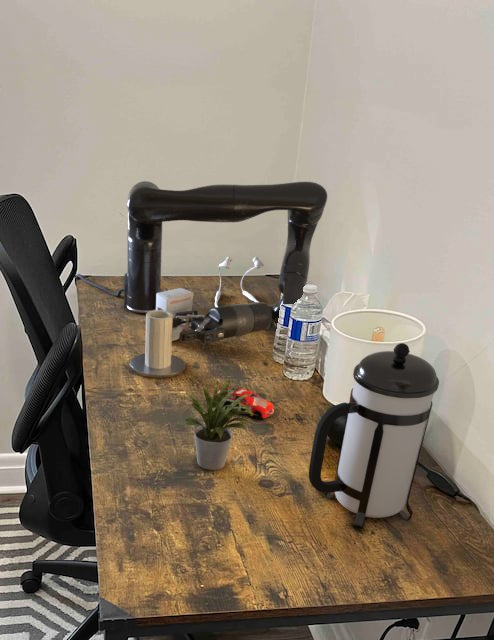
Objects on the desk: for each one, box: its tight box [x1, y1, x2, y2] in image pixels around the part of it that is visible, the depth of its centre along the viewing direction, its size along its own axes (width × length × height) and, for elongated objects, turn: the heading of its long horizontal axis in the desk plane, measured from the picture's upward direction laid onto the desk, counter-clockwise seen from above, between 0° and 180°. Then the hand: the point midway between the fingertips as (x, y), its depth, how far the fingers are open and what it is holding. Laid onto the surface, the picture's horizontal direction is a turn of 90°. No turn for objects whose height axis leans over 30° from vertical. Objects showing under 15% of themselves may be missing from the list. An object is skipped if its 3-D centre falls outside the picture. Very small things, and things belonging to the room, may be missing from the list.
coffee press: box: [308, 342, 440, 530], centre depth 118 cm, size 17×16×30 cm
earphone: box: [214, 256, 265, 307], centre depth 210 cm, size 14×17×18 cm
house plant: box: [176, 378, 256, 471], centre depth 132 cm, size 14×14×16 cm
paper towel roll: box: [144, 310, 173, 369], centre depth 170 cm, size 6×6×12 cm
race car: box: [217, 387, 275, 420], centre depth 155 cm, size 13×5×4 cm, turn 57°
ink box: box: [156, 287, 194, 342], centre depth 186 cm, size 9×5×12 cm, turn 129°
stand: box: [129, 353, 186, 379], centre depth 171 cm, size 13×13×10 cm
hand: (171, 330), depth 170 cm, fingers open, 8 cm apart
